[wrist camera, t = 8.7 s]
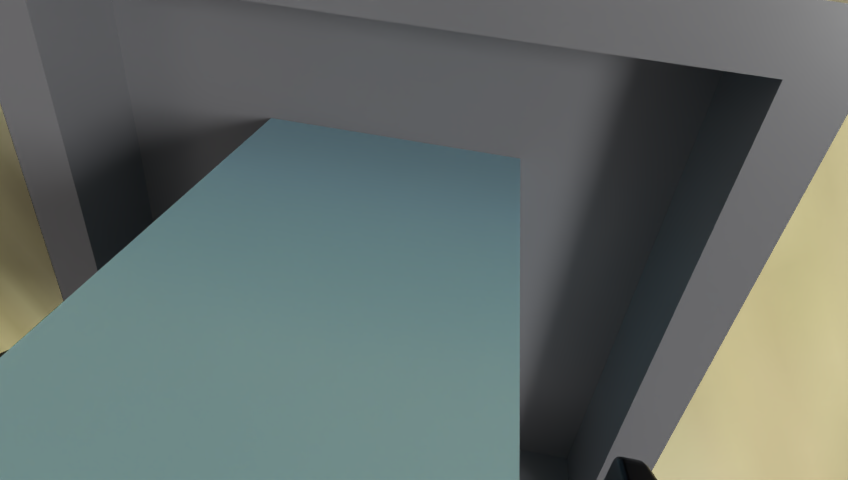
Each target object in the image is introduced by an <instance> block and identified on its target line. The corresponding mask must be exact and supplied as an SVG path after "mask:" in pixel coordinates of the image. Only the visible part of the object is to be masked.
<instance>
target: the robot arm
mask: <svg viewBox="0 0 848 480" xmlns="http://www.w3.org/2000/svg"><path fill="white" fill-rule="evenodd" d="M7 351H8V350H7ZM7 351H5V352H2V353H0V357H1V356H2V355H4V354H5V353H6V352H7ZM604 480H657V479H656V477H655V476H654V474H653V473H652V471H651V470H650V468H649V467H648V466H647V465H646V464H645V463H644V462H643V461H640V460H637V459H631V458H626V457H621V456H618V457H616V458H615V459H614V460H613V462H612V464H611V466H610V468H609V470H608V472H607V474H606V476H605V479H604Z"/></svg>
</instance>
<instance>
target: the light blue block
mask: <svg viewBox="0 0 848 480" xmlns="http://www.w3.org/2000/svg"><path fill="white" fill-rule="evenodd" d="M519 449H520V159H519V158H513V157H507V156H501V155H495V154H489V153H482V152H476V151H470V150H464V149H458V148H452V147H446V146H439V145H433V144H427V143H421V142H415V141H409V140H403V139H396V138H390V137H384V136H378V135H372V134H366V133H360V132H354V131H347V130H341V129H335V128H329V127H323V126H317V125H311V124H304V123H298V122H292V121H286V120H280V119H274V118H271V119H270V120H268V121H267V122H266V123H265V124H264V125H263V126H262V127H260V128H259V129H258V130H257V131H256V132H255V133H254V134H253V135H251V136H250V137H249V138H248V139H247V140H246V141H245V142H243V143H242V144H241V145H240V146H239V147H238V148H237V149H236V150H234V151H233V152H232V153H231V154H230V155H229V156H228V157H227V158H225V159H224V160H223V161H222V162H221V163H220V164H219V165H217V166H216V167H215V168H214V169H213V170H212V171H211V172H210V173H208V174H207V175H206V176H205V177H204V178H203V179H202V180H200V181H199V182H198V183H197V184H196V185H195V186H194V187H193V188H191V189H190V190H189V191H188V192H187V193H186V194H185V195H184V196H182V197H181V198H180V199H179V200H178V201H177V202H176V203H174V204H173V205H172V206H171V207H170V208H169V209H168V210H167V211H165V212H164V213H163V214H162V215H161V216H160V217H159V218H157V219H156V220H155V221H154V222H153V223H152V224H151V225H150V226H148V227H147V228H146V229H145V230H144V231H143V232H142V233H141V234H139V235H138V236H137V237H136V238H135V239H134V240H133V241H131V242H130V243H129V244H128V245H127V246H126V247H125V248H124V249H122V250H121V251H120V252H119V253H118V254H117V255H116V256H114V257H113V258H112V259H111V260H110V261H109V262H108V263H107V264H105V265H104V266H103V267H102V268H101V269H100V270H99V271H98V272H96V273H95V274H94V275H93V276H92V277H91V278H90V279H88V280H87V281H86V282H85V283H84V284H83V285H82V286H81V287H79V288H78V289H77V290H76V291H75V292H74V293H73V294H71V295H70V296H69V297H68V298H67V299H66V300H65V301H64V302H62V303H61V304H60V305H59V306H58V307H57V308H56V309H55V310H53V311H52V312H51V313H50V314H49V315H48V316H47V317H45V318H44V319H43V320H42V321H41V322H40V323H39V324H38V325H36V326H35V327H34V328H33V329H32V330H31V331H30V332H28V333H27V334H26V335H25V336H24V337H23V338H22V339H21V340H19V341H18V342H17V343H16V344H15V345H14V346H13V347H12V348H10V349H9V350H8V351H7V352H6V353H5V354H4V355H2V356H1V357H0V480H519Z"/></svg>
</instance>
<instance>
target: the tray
mask: <svg viewBox="0 0 848 480" xmlns="http://www.w3.org/2000/svg"><path fill="white" fill-rule="evenodd" d="M0 104H1V107H2V110H3V113H4V116H5V119H6V122H7V126H8V129H9V132H10V135H11V138H12V141H13V144H14V147H15V151H16V154H17V157H18V160H19V163H20V166H21V169H22V172H23V176H24V179H25V182H26V185H27V188H28V191H29V194H30V197H31V200H32V204H33V207H34V210H35V213H36V216H37V219H38V222H39V225H40V229H41V232H42V235H43V238H44V241H45V244H46V247H47V250H48V254H49V257H50V260H51V263H52V266H53V269H54V272H55V275H56V278H57V282H58V285H59V288H60V291H61V294H62V297H63V300H64V301H65V300H66V299H67V298H68V297H69V296H70V295H71V294H73V293H74V292H75V291H76V290H77V289H78V288H79V287H81V286H82V285H83V284H84V283H85V282H86V281H87V280H88V279H90V278H91V277H92V276H93V275H94V274H95V273H96V272H98V271H99V270H100V269H101V268H102V267H103V266H104V265H105V264H107V263H108V262H109V261H110V260H111V259H112V258H113V257H114V256H116V255H117V254H118V253H119V252H120V251H121V250H122V249H124V248H125V247H126V246H127V245H128V244H129V243H130V242H131V241H133V240H134V239H135V238H136V237H137V236H138V235H139V234H141V233H142V232H143V231H144V230H145V229H146V228H147V227H148V226H150V225H151V224H152V223H153V222H154V221H155V220H156V219H157V218H159V217H160V216H161V215H162V214H163V213H164V212H165V211H167V210H168V209H169V208H170V207H171V206H172V205H173V204H174V203H176V202H177V201H178V200H179V199H180V198H181V197H182V196H184V195H185V194H186V193H187V192H188V191H189V190H190V189H191V188H193V187H194V186H195V185H196V184H197V183H198V182H199V181H200V180H202V179H203V178H204V177H205V176H206V175H207V174H208V173H210V172H211V171H212V170H213V169H214V168H215V167H216V166H217V165H219V164H220V163H221V162H222V161H223V160H224V159H225V158H227V157H228V156H229V155H230V154H231V153H232V152H233V151H234V150H236V149H237V148H238V147H239V146H240V145H241V144H242V143H243V142H245V141H246V140H247V139H248V138H249V137H250V136H251V135H253V134H254V133H255V132H256V131H257V130H258V129H259V128H260V127H262V126H263V125H264V124H265V123H266V122H267V121H268V120H270V119H271V118H274V119H280V120H286V121H292V122H298V123H304V124H311V125H317V126H323V127H329V128H335V129H341V130H347V131H354V132H360V133H366V134H372V135H378V136H384V137H390V138H396V139H403V140H409V141H415V142H421V143H427V144H433V145H439V146H446V147H452V148H458V149H464V150H470V151H476V152H482V153H489V154H495V155H501V156H507V157H513V158H519V159H520V449H519V480H604V479H605V476H606V474H607V472H608V470H609V468H610V466H611V464H612V462H613V460H614V459H615V458H616V457H618V456H621V457H626V458H631V459H637V460H640V461H643V462H644V463H645V464H646V465H647V466H648V467H649V468H650V470H651V471H652V469H653V468H654V466H655V464H656V462H657V460H658V459H659V457H660V455H661V453H662V451H663V449H664V448H665V446H666V444H667V442H668V440H669V438H670V437H671V435H672V433H673V431H674V429H675V428H676V426H677V424H678V422H679V420H680V418H681V417H682V415H683V413H684V411H685V409H686V407H687V406H688V404H689V402H690V400H691V398H692V397H693V395H694V393H695V391H696V389H697V387H698V386H699V384H700V382H701V380H702V378H703V377H704V375H705V373H706V371H707V369H708V367H709V366H710V364H711V362H712V360H713V358H714V356H715V355H716V353H717V351H718V349H719V347H720V346H721V344H722V342H723V340H724V338H725V336H726V335H727V333H728V331H729V329H730V327H731V326H732V324H733V322H734V320H735V318H736V316H737V315H738V313H739V311H740V309H741V307H742V305H743V304H744V302H745V300H746V298H747V296H748V295H749V293H750V291H751V289H752V287H753V285H754V284H755V282H756V280H757V278H758V276H759V274H760V273H761V271H762V269H763V267H764V265H765V264H766V262H767V260H768V258H769V256H770V254H771V253H772V251H773V249H774V247H775V245H776V244H777V242H778V240H779V238H780V236H781V234H782V233H783V231H784V229H785V227H786V225H787V223H788V222H789V220H790V218H791V216H792V214H793V213H794V211H795V209H796V207H797V205H798V203H799V202H800V200H801V198H802V196H803V194H804V193H805V191H806V189H807V187H808V185H809V183H810V182H811V180H812V178H813V176H814V174H815V172H816V171H817V169H818V167H819V165H820V163H821V162H822V160H823V158H824V156H825V154H826V152H827V151H828V149H829V147H830V145H831V143H832V141H833V140H834V138H835V136H836V134H837V132H838V131H839V129H840V127H841V125H842V123H843V121H844V120H845V118H846V116H847V114H848V0H0Z"/></svg>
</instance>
